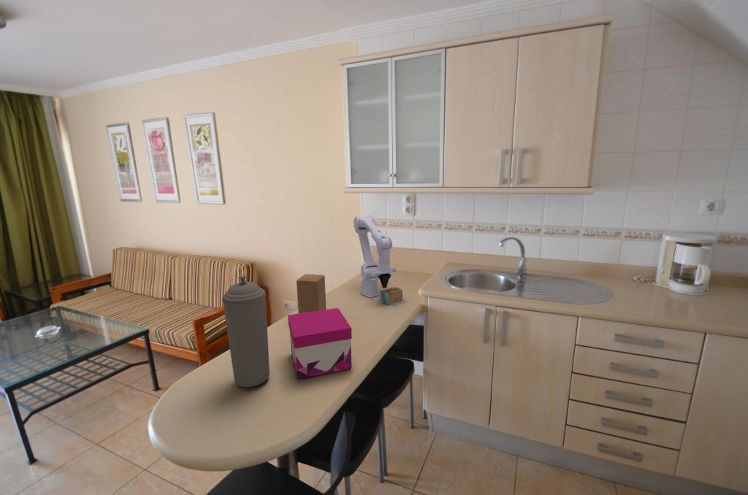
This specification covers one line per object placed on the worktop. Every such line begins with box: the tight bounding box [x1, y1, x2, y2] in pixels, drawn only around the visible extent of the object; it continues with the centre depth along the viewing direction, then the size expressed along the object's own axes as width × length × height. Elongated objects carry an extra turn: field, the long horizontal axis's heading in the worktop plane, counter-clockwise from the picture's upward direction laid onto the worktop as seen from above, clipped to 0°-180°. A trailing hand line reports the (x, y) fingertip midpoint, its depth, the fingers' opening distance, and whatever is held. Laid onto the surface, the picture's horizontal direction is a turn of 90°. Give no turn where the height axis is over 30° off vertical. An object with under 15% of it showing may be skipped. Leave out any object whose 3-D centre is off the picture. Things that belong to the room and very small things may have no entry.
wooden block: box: [296, 273, 327, 314], centre depth 156 cm, size 10×10×20 cm
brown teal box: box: [379, 286, 404, 306], centre depth 176 cm, size 6×6×10 cm
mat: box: [378, 298, 408, 307], centre depth 178 cm, size 12×11×1 cm
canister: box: [221, 274, 270, 388], centre depth 108 cm, size 13×13×35 cm
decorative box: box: [287, 307, 353, 380], centre depth 121 cm, size 19×19×15 cm
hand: (384, 287), depth 173 cm, fingers closed
